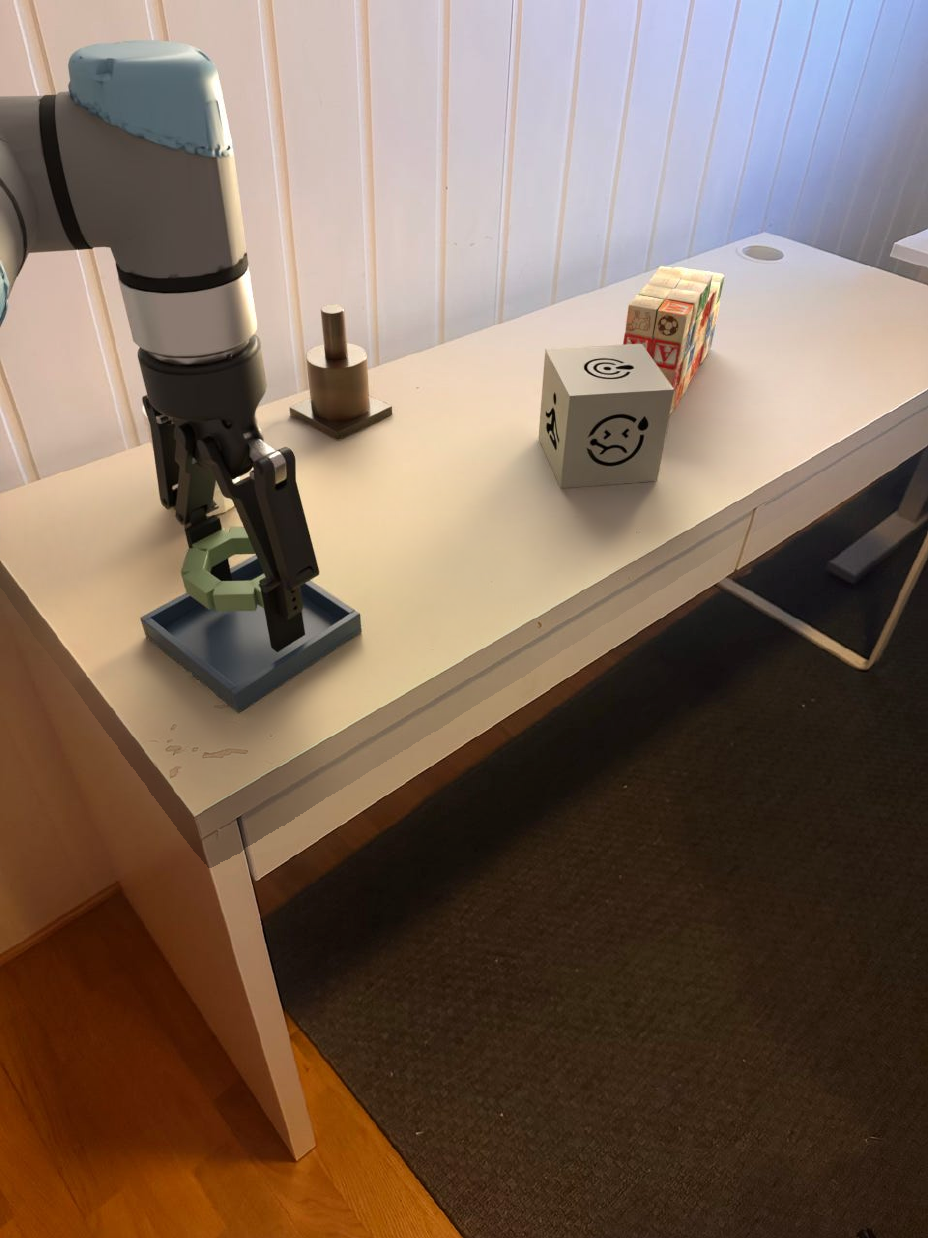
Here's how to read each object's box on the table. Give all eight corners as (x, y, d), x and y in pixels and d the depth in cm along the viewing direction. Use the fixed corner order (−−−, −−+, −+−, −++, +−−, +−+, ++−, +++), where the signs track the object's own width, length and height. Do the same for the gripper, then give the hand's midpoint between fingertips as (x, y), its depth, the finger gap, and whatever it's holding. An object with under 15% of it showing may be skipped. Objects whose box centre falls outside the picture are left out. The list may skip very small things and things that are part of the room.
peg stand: (290, 415, 99) (276, 308, 91) (344, 390, 103) (335, 287, 95) (338, 440, 95) (328, 331, 87) (392, 414, 99) (388, 308, 91)
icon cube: (628, 431, 97) (641, 343, 91) (657, 480, 90) (674, 389, 83) (538, 437, 96) (545, 348, 89) (560, 488, 88) (569, 395, 82)
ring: (165, 576, 68) (160, 560, 67) (254, 529, 72) (251, 513, 71) (232, 627, 63) (229, 610, 62) (322, 573, 68) (320, 557, 67)
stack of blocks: (663, 338, 115) (680, 239, 107) (711, 347, 113) (732, 248, 105) (613, 410, 101) (628, 302, 93) (667, 422, 99) (687, 313, 91)
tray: (145, 636, 71) (139, 617, 70) (267, 568, 78) (263, 549, 77) (239, 713, 65) (234, 694, 64) (362, 632, 72) (360, 613, 71)
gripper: (358, 372, 52) (378, 653, 67) (154, 278, 63) (210, 539, 78) (255, 418, 48) (301, 707, 63) (54, 309, 59) (135, 578, 74)
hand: (251, 614), depth 70 cm, fingers closed on ring, 8 cm apart
